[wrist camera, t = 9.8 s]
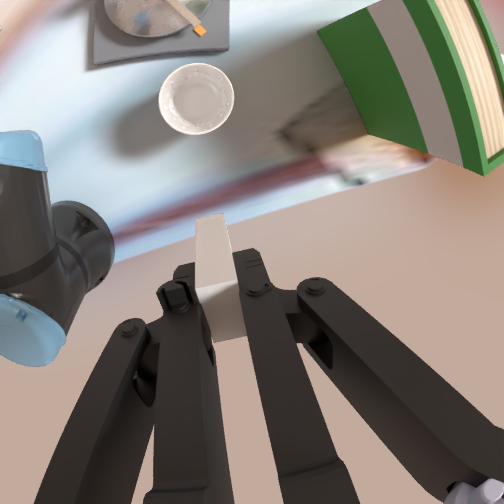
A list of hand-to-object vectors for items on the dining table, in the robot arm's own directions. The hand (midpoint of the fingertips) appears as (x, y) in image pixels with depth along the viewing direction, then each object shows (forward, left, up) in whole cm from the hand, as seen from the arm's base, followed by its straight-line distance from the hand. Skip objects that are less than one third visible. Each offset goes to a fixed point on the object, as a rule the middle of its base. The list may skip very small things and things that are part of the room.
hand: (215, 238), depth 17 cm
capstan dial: (-6, +24, -25) cm, 35 cm away
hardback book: (+23, +13, -28) cm, 38 cm away
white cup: (-1, +8, -28) cm, 29 cm away
